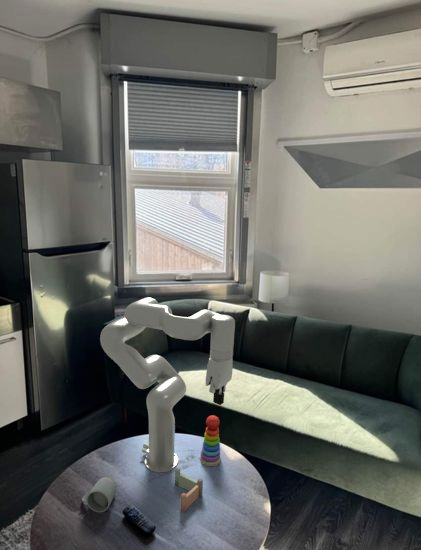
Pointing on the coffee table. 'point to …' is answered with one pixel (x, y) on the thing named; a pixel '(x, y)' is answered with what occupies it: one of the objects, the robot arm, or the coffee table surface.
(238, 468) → the coffee table surface
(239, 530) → the coffee table surface
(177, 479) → the bar
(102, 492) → the ceramic mug
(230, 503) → the coffee table surface
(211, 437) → the stacking toy
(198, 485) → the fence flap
